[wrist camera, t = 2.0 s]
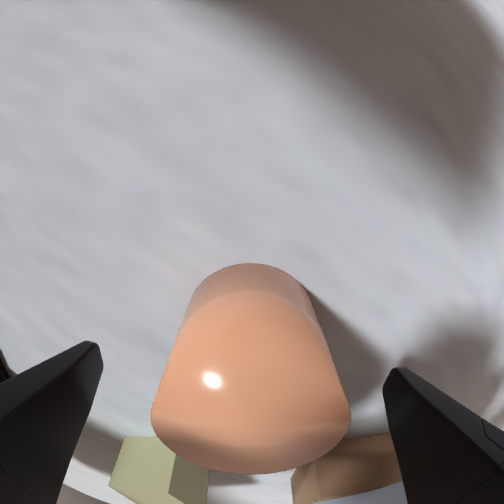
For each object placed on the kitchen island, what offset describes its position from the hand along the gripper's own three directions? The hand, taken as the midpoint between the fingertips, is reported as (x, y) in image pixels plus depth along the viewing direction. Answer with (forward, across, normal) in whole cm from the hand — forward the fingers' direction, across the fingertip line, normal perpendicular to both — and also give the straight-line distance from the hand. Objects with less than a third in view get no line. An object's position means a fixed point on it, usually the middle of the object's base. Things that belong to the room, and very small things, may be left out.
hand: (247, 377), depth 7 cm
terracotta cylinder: (+3, 0, 0) cm, 3 cm away
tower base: (+3, -7, +11) cm, 13 cm away
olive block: (+3, +4, +11) cm, 12 cm away
